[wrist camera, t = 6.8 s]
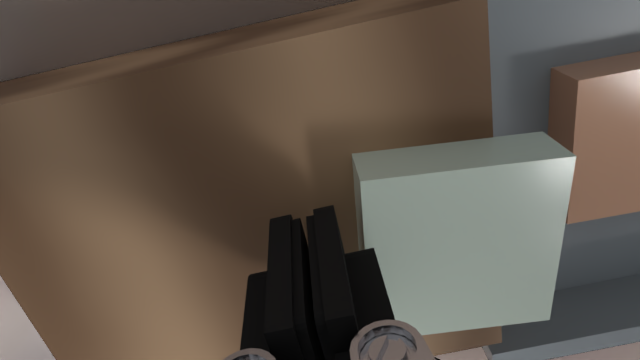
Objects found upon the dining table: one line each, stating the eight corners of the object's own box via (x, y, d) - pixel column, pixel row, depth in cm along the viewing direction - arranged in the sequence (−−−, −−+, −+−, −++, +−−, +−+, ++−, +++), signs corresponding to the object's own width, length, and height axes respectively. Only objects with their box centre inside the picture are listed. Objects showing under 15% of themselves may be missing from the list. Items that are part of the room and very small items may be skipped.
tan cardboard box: (437, -19, 14) (487, -6, 11) (462, 268, 19) (502, 342, 15) (-4, 82, 15) (-98, 126, 11) (131, 335, 20) (97, 422, 16)
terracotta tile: (578, 80, 14) (550, 67, 15) (567, 224, 16) (544, 201, 17) (752, 48, 13) (708, 38, 15) (715, 197, 16) (680, 176, 17)
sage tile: (542, 131, 12) (576, 156, 11) (523, 282, 14) (549, 320, 13) (351, 153, 12) (360, 181, 11) (362, 302, 14) (370, 341, 13)
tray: (833, -211, 13) (982, -253, 10) (724, 262, 20) (792, 312, 17) (428, -114, 13) (465, -130, 10) (466, 313, 20) (493, 369, 17)
